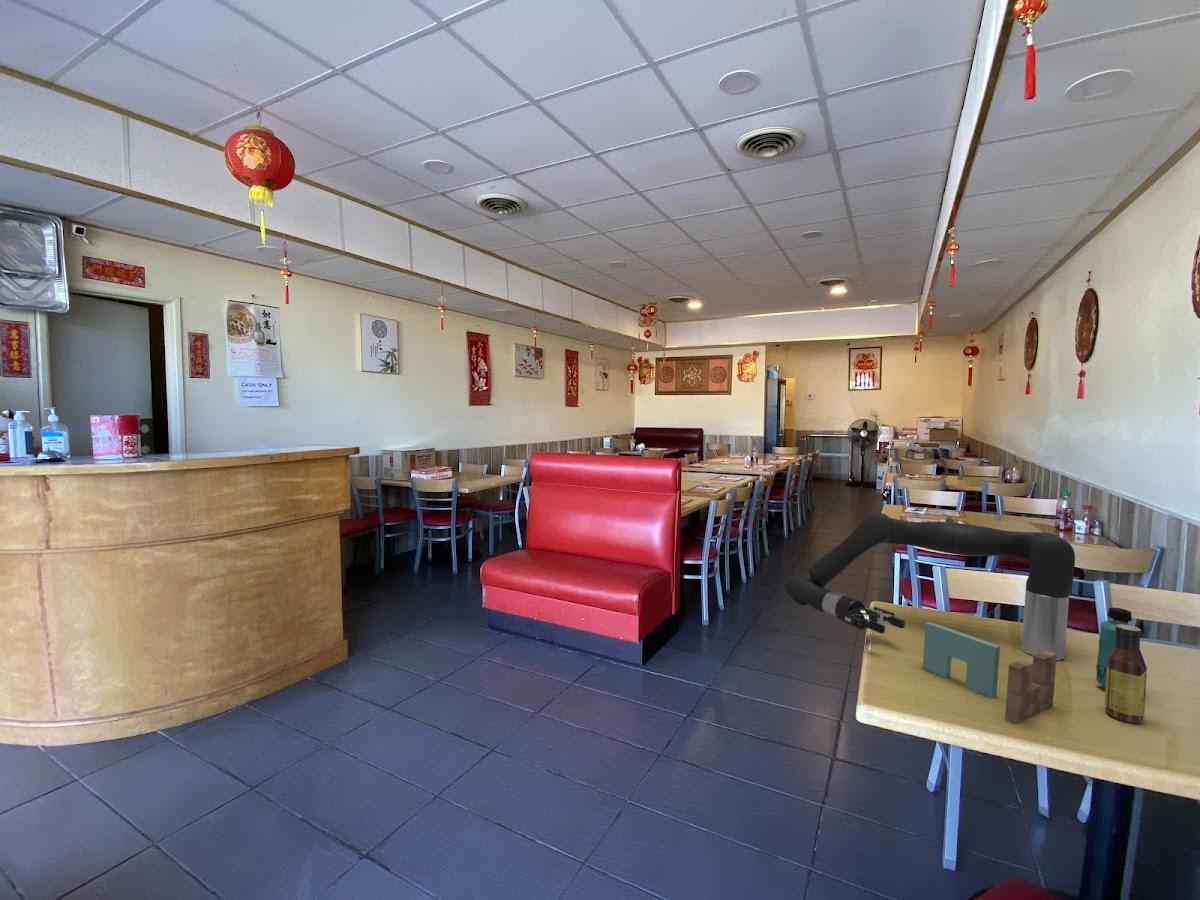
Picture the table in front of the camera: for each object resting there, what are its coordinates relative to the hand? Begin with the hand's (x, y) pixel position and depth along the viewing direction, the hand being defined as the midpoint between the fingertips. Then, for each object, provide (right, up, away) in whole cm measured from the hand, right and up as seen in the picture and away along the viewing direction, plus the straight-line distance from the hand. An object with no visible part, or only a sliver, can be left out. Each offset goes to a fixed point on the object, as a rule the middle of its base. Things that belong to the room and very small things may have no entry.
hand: (894, 627), depth 146 cm
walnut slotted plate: (+15, -10, -28) cm, 33 cm away
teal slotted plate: (+8, -9, -14) cm, 18 cm away
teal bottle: (+43, -10, -17) cm, 47 cm away
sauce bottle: (+34, -10, -28) cm, 46 cm away
